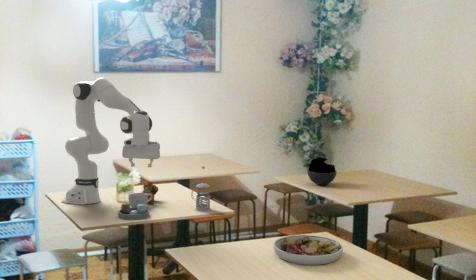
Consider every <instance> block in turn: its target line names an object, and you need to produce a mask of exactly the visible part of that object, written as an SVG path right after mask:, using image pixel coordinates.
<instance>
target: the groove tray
mask: <svg viewBox="0 0 476 280" xmlns="http://www.w3.org/2000/svg"><path fill="white" fill-rule="evenodd" d="M149 216H150V209H148V208H146V213H143V214H137V207H131V206H130V214H122V210H121V208H120V209H119V210H117V217H118V218H119V217H120V218H119V219H122V218H124V220H129V219H134V220H141V219H142V218H143V219H146V218H148V217H149ZM143 219H142V220H143Z"/></svg>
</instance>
